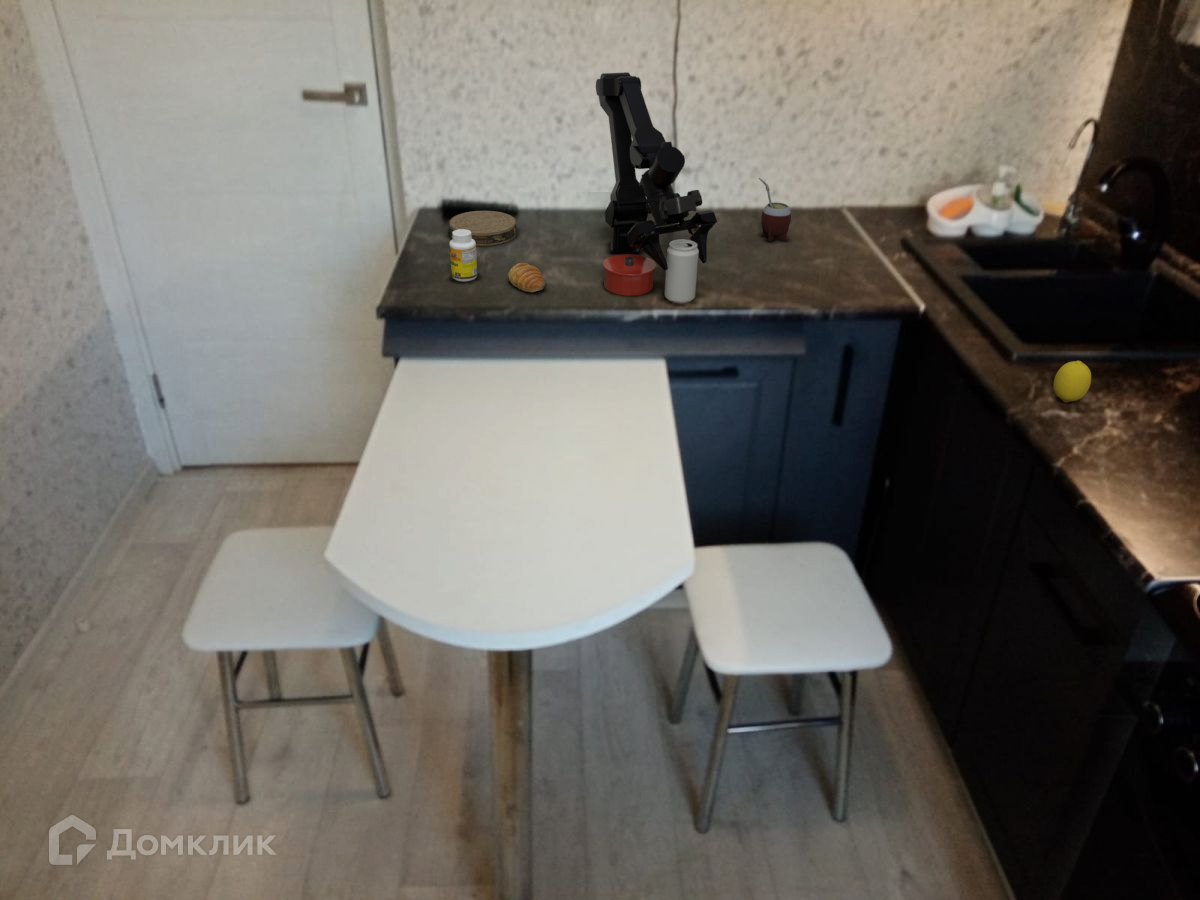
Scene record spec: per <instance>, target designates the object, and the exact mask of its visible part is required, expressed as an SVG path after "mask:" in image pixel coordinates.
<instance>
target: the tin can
mask: <svg viewBox="0 0 1200 900" xmlns="http://www.w3.org/2000/svg"><path fill="white" fill-rule="evenodd" d="M458 229H466V230H470V231H471V236H472V239H473V240H474V241H475V242H476V247H477V246H478V247H481V246H483V247H484V246H487V247H488V246H497V245H501V244H505V243H508V242H510V241H511V240H513V239H515V237H517V236H516V235H517V222H516V218H515V217H514V216H512V215H510V214H508V213H505V212H502V211H497V210H496V211H495V210H473V211H466V212H461V213H459V214H457V215H455V216H453V217H451V219H450V220H449V231H450V232H449V234H450V235H449V236H450V238H451V240H452V239H453V238H452V237H453V235H452V232H453V231H455V230H458Z"/></svg>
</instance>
